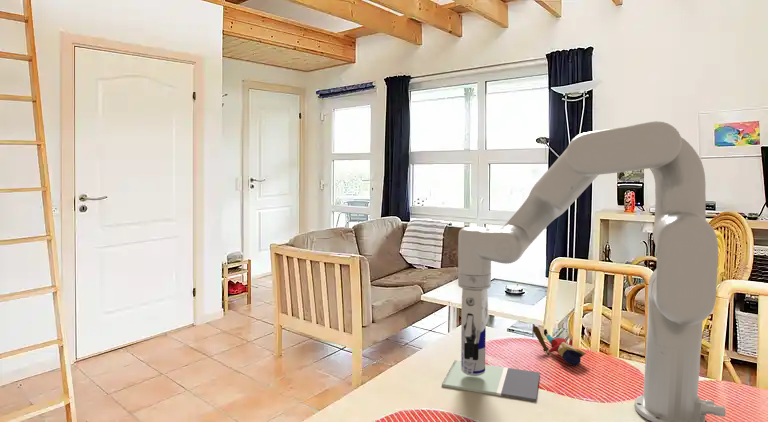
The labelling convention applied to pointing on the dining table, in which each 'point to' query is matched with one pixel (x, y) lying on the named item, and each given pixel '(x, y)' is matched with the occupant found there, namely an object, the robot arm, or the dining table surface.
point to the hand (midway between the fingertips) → (473, 353)
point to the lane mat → (495, 381)
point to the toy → (560, 347)
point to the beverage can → (471, 365)
